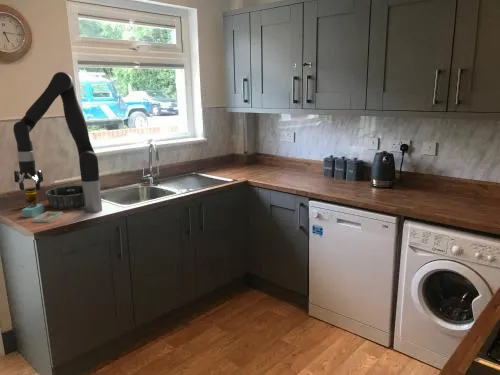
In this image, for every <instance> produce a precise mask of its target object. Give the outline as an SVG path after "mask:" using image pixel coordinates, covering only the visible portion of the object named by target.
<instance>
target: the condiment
mask: <svg viewBox="0 0 500 375" xmlns="http://www.w3.org/2000/svg"><path fill="white" fill-rule="evenodd" d="M24 191H25V193H24V194H25V202H26V207H29V206H28V204H40V203H39V197H38V191H37V190H36V186H35V187H33V186H32V187H31V186H30V187H26V188H24Z"/></svg>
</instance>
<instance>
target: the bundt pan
mask: <svg viewBox="0 0 500 375" xmlns="http://www.w3.org/2000/svg"><path fill="white" fill-rule="evenodd" d="M45 196H46V198H47V201H48V204H49V206H50V207H51V208H53V209H55V210H61V211H62V210H72V209H73V210H74V209H78V208H81V209H82V208H84V200H83V191H82V184H80V185H79V184H73V185H64V186H58V187H54V188H51V189H49V190H46V191H45Z"/></svg>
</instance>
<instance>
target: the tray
mask: <svg viewBox="0 0 500 375" xmlns="http://www.w3.org/2000/svg"><path fill="white" fill-rule="evenodd" d="M63 215H64V212H63V211H44V213H42V214H40V215H38V216H35V217H34V218H32V219H31V221H32V223H51V222H52V221H54V220H56V219H58V218H59V217H61V216H63ZM46 216H50V217H49V218H45V217H46Z"/></svg>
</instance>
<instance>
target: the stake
mask: <svg viewBox="0 0 500 375" xmlns="http://www.w3.org/2000/svg"><path fill="white" fill-rule="evenodd" d="M28 206H31V208H34V207H35V206H37V204H28ZM43 213H45V211H44V212H42V213H40V214H38V215H36V216H35V217H37V216H39V215H41V214H43Z"/></svg>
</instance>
